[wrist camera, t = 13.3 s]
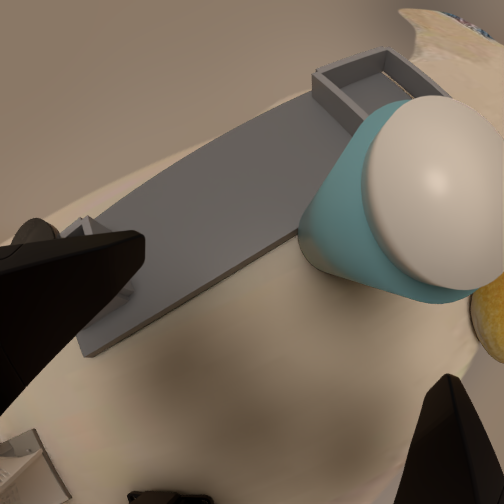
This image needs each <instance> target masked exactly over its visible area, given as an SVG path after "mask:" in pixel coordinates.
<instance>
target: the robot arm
mask: <svg viewBox="0 0 504 504" xmlns="http://www.w3.org/2000/svg"><path fill="white" fill-rule="evenodd" d="M145 248H146V239H145V236H144V235H143V234H141V233H139V232H137V231H135V230H126V231H117V232H108V233H100V234H91V235H83V236H75V237H67V238H59V239H52V240H44V241H37V242H30V243H25V244H16V245H8V246H1V247H0V416H1V415H2V414H3V413H4V412H5V410H6V409H7V408H8V407H9V406H10V405H11V404H12V402H13V401H14V400H15V399H16V398H17V397H18V396H19V395H20V394H21V392H22V391H23V390H24V389H25V388H26V387H27V386H28V385H29V383H30V382H31V381H32V380H33V379H34V378H35V377H36V376H37V375H38V374H39V373H40V372H41V371H42V370H43V369H44V368H45V366H46V365H47V364H48V363H49V362H50V361H51V360H52V359H53V358H54V357H55V356H56V355H57V354H58V353H59V352H60V351H61V350H62V349H63V348H64V347H65V346H66V345H67V344H68V343H69V342H70V341H71V340H72V339H73V338H74V337H75V336H76V335H77V334H78V333H79V332H80V331H81V330H82V329H83V328H84V327H85V326H86V325H87V324H88V323H89V322H90V321H91V320H92V319H93V318H94V317H95V316H96V315H97V314H98V313H99V312H100V311H101V310H103V309H104V308H105V307H106V306H107V305H108V304H109V303H110V302H111V301H112V300H113V299H114V298H115V296H116V295H117V294H118V293H119V292H120V291H121V290H122V288H123V287H124V286H125V285H126V284H127V283H128V282H129V280H130V279H131V278H132V277H133V276H134V275H135V274H136V273H137V271H138V270H139V269H140V268H141V267H142V266H143V264H144V262H145ZM133 496H134V497H135V498H136V499H135V498H133ZM127 498H128V501H129V504H214V502H213V500H212V498H211V497H210V496H207V495H180V494H178V493H172V492H154V491H145V492H135V491H132V492H130V493H129V494H128V495H127ZM202 500H205V501H207V503H204V502H203V501H202ZM394 504H504V474H503V472H502V469H501V467H500V464H499V462H498V459H497V456H496V454H495V452H494V449H493V447H492V445H491V442H490V440H489V438H488V435H487V433H486V431H485V429H484V427H483V425H482V422H481V420H480V419H479V416H478V414H477V412H476V410H475V408H474V406H473V404H472V402H471V400H470V398H469V396H468V394H467V392H466V390H465V388H464V386H463V384H462V383H461V381H460V379H459V378H458V377H456V376H454V375H451V374H444V375H443V376H442V377H441V378H440V379H439V380H438V381H437V382H436V383H435V385H434V386H433V387H432V388H431V389H430V390H429V391H428V392H427V394H426V396H425V398H424V401H423V405H422V409H421V412H420V416H419V419H418V422H417V425H416V429H415V432H414V435H413V438H412V441H411V444H410V448H409V452H408V455H407V459H406V463H405V467H404V471H403V475H402V478H401V481H400V485H399V488H398V491H397V494H396V497H395V500H394Z"/></svg>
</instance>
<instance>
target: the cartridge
mask: <svg viewBox="0 0 504 504" xmlns="http://www.w3.org/2000/svg"><path fill="white" fill-rule="evenodd" d="M298 240H299V245H300V248H301V250H302V252H303V254H304V256H305V257H306V259H307V260H308V261H309V262H310V263H311V264H312V265H313V266H314V267H316V268H317V269H319V270H321V271H323V272H326V273H329V274H332V275H335V276H339V277H342V278H345V279H348V280H352V281H355V282H358V283H361V284H365V285H368V286H371V287H374V288H378V289H381V290H384V291H387V292H390V293H394V294H397V295H400V296H403V297H407V298H410V299H413V300H416V301H420V302H425V303H430V304H444V303H450V302H454V301H457V300H460V299H463V298H465V297H467V296H469V295H471V294H472V293H474V292H475V291H476V290H478V289H479V288H480V287H483V286H485V285H487V284H489V283H491V282H492V281H494V280H495V279H496V278H498V277H499V276H500V275H501V274H502V273H503V272H504V139H503V138H502V136H501V135H500V134H499V132H498V131H497V130H496V129H495V127H494V126H493V125H492V124H491V123H490V122H489V121H488V120H487V119H486V118H485V117H484V116H482V115H481V114H480V113H479V112H477V111H476V110H475V109H473V108H471V107H470V106H468V105H466V104H464V103H462V102H460V101H458V100H455V99H452V98H449V97H444V96H432V95H430V96H422V97H418V98H415V99H412V100H402V101H396V102H393V103H390V104H387V105H385V106H383V107H381V108H379V109H377V110H376V111H374V112H373V113H372V114H371V115H369V116H368V117H367V118H366V119H365V120H364V121H363V123H362V124H361V125H360V126H359V128H358V129H357V131H356V132H355V134H354V135H353V137H352V139H351V140H350V142H349V143H348V145H347V146H346V148H345V150H344V151H343V153H342V154H341V156H340V157H339V159H338V160H337V162H336V164H335V165H334V167H333V168H332V170H331V171H330V173H329V174H328V176H327V178H326V179H325V181H324V182H323V184H322V185H321V187H320V188H319V190H318V191H317V193H316V194H315V196H314V198H313V199H312V201H311V202H310V204H309V205H308V207H307V208H306V210H305V211H304V213H303V215H302V217H301V219H300V222H299V227H298Z"/></svg>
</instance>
